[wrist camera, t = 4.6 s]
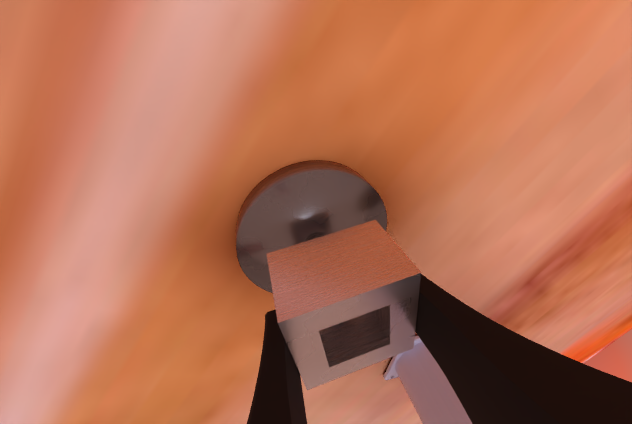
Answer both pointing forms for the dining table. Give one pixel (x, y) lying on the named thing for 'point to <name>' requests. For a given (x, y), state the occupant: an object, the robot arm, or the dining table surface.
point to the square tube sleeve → (344, 301)
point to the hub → (301, 211)
